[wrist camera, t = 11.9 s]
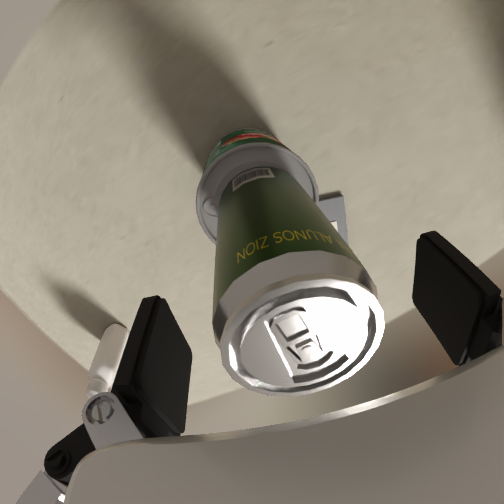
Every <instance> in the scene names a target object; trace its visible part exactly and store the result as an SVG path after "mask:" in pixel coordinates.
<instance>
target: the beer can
mask: <svg viewBox="0 0 504 504" xmlns="http://www.w3.org/2000/svg"><path fill="white" fill-rule="evenodd" d="M212 324H213V330H214V336H215V342H216V344H217V346H218V347H219V349H220V351H221V357H222V363H223V366H224V368H225V369H226V370H227V372H228V373H229V375H230V376H231V377H232V379H233V380H235V381H236V382H238V383H239V384H241V385H242V386H244V387H245V388H247V389H249V390H252V391H255V392H258V393H262V394H265V395H271V396H297V395H304V394H311V393H314V392H317V391H320V390H323V389H326V388H329V387H332V386H334V385H336V384H337V383H339V382H341V381H343V380H344V379H346V378H348V377H350V376H351V375H352V374H354V373H355V372H356V371H357V370H358V369H359V368H361V367H362V366H363V365H364V364H365V363H366V362H367V361H368V360H369V358H370V357H371V356H372V354H373V353H374V351H375V350H376V349H377V347H378V345H379V343H380V339H381V336H382V333H383V330H384V320H383V310H382V309H381V307H380V305H379V304H378V298H377V289H376V286H375V284H374V283H373V281H372V279H371V278H370V276H369V274H368V273H367V271H366V269H365V268H364V267H363V265H362V264H361V262H360V261H359V260H358V258H357V257H356V256H355V254H354V253H353V252H352V250H351V249H350V248H349V246H348V245H347V243H346V242H345V241H344V239H343V238H342V237H341V236H340V234H339V233H338V232H337V230H336V229H335V228H334V226H333V225H332V224H331V222H330V221H329V220H328V219H327V217H326V216H325V215H324V214H323V212H322V211H321V210H320V208H319V207H318V206H317V205H316V203H315V202H314V201H313V200H312V198H311V197H310V196H309V195H308V194H307V192H306V191H305V190H304V189H303V187H302V186H301V185H300V184H299V183H298V181H297V180H296V179H295V178H294V177H293V176H291V175H290V174H288V173H287V172H285V171H284V170H281V169H277V168H274V167H270V166H267V167H254V168H251V169H248V170H246V171H243V172H241V173H239V174H238V175H237V176H236V177H234V178H233V179H232V180H231V181H230V182H229V183H228V185H227V186H226V188H225V189H224V191H223V192H222V195H221V199H220V203H219V209H218V223H217V239H216V256H215V275H214V295H213V320H212Z"/></svg>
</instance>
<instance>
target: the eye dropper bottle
mask: <svg viewBox="0 0 504 504" xmlns="http://www.w3.org/2000/svg"><path fill="white" fill-rule="evenodd" d="M127 340H128V330H127V329H126V328H124V327H122V326H120V325H119V324H116V323H114V324H112V325H110V326H109V327H108V328H107V329H106V330H105V332H104V334H103V336H102V338H101V341H100V343H99V346H98V349H97V351H96V354H95V356H94V359H93V362H92V364H91V367H90V370H89V381H90V382H89V385H88V388H87V392H86V394H87V395H88V397H89V398H91V397H93V396H94V395H96V394H98V393H102V392H107V391H108V388H109V387H110V386H111V385H112V384H113V382H114V379H115V376H116V373H117V370H118V367H119V363H120V360H121V357H122V354H123V351H124V349H125V346H126V343H127Z"/></svg>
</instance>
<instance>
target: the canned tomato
mask: <svg viewBox="0 0 504 504" xmlns="http://www.w3.org/2000/svg"><path fill="white" fill-rule="evenodd" d="M267 166H270V167H274V168H277V169H281V170H284V171H285V172H287V173H288V174H290V175H291V176H293V177H294V178H295V179H296V180H297V181H298V183H299V184H300V185H301V186H302V187H303V189H304V190H305V191H306V192H307V194H308V195H309V196H310V197H311V198H312V200H313V201H314V202H315V203H316V205H317V206H318V204H319V194H318V187H317V184H316V181H315V178H314V175H313V174H312V172H311V170H310V169H309V167H308V165H307V164H306V163H305V162H304V161H303V160H302V159H301V158H300V157H299V156H297V155H296V154H295V153H293V152H292V151H291V150H290V149H288V148H287V147H286V146H285V145H283V144H282V143H281V142H280V141H278V140H277V139H276V138H275V137H274V136H272V135H271V134H269V133H268V132H265V131H263V130H260V129H255V128H242V129H237V130H234V131H232V132H229V133H227V134H226V135H224V136H223V137H221V138H220V139H219V140H218V142H217V143H216V144H215V145H214V147H213V148H212V150H211V152H210V155H209V157H208V161H207V164H206V167H205V170H204V173H203V175H202V178H201V180H200V183H199V186H198V189H197V195H196V210H197V215H198V219H199V222H200V225H201V226H202V228H203V230H204V232H205V234H206V235H207V236H208V237H209V239H210V240H211V241H212V242H213V243H214V244H215V245H216V239H217V223H218V209H219V203H220V199H221V195H222V192H223V191H224V189H225V188H226V186H227V185H228V183H229V182H230V181H231V180H232V179H233V178H234V177H236V176H237V175H238V174H239V173H241V172H243V171H246V170H248V169H251V168H254V167H267Z"/></svg>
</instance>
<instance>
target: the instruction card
mask: <svg viewBox="0 0 504 504" xmlns="http://www.w3.org/2000/svg"><path fill="white" fill-rule="evenodd" d="M318 207H319V208H320V210H321V211H322V212H323V214H324V215H325V216H326V217H327V219H328V220H329V221H330V222H331V224H332V225H333V226H334V228H335V229H336V230H337V232H338V233H339V234H340V236H341V237H342V238H343V239H344V241H345V242H346V243H347V245H348V237H347V226H346V216H345V206H344V197H343V195H338V196H334V197H329V198H325V199H320V200H319V204H318Z"/></svg>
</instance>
